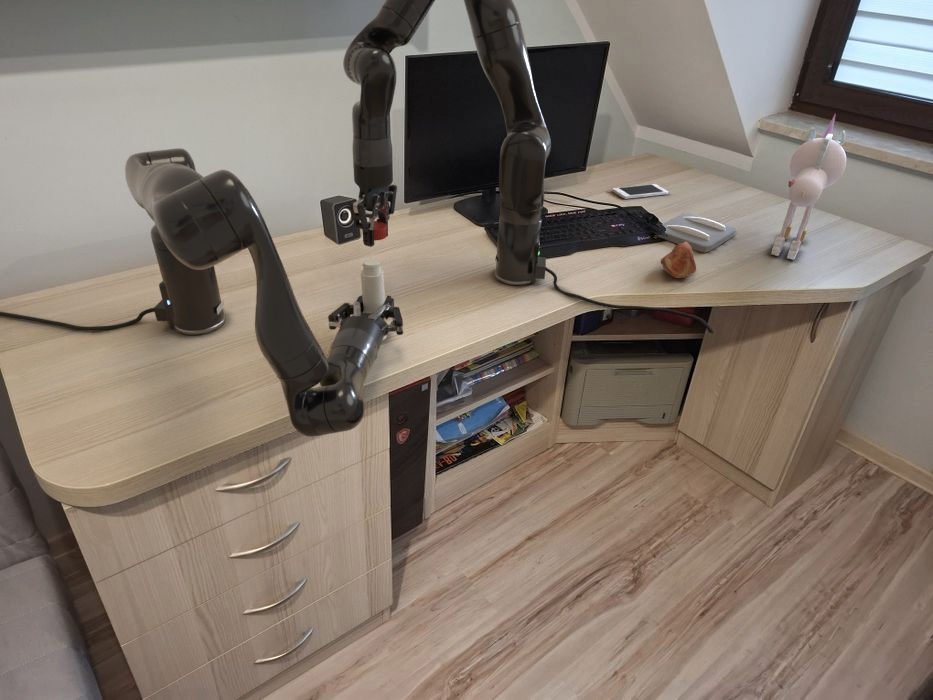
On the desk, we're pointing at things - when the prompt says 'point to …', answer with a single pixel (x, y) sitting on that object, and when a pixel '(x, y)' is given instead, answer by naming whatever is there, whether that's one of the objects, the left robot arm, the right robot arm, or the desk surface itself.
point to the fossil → (680, 261)
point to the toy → (811, 180)
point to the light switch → (697, 232)
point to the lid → (379, 230)
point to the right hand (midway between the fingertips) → (375, 240)
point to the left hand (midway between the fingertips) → (377, 299)
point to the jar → (372, 286)
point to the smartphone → (640, 191)
